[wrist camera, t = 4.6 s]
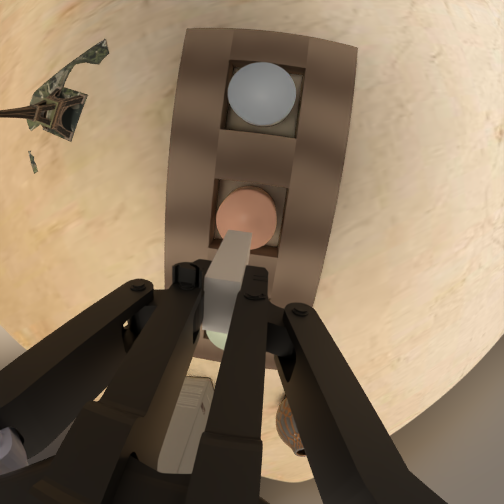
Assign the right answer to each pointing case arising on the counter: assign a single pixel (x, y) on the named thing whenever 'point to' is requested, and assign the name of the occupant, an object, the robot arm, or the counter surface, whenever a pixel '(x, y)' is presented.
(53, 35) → the counter surface
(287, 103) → the button slate
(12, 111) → the eiffel tower figurine
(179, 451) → the skincare box
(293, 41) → the button board
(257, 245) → the button terracotta
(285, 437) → the vase
